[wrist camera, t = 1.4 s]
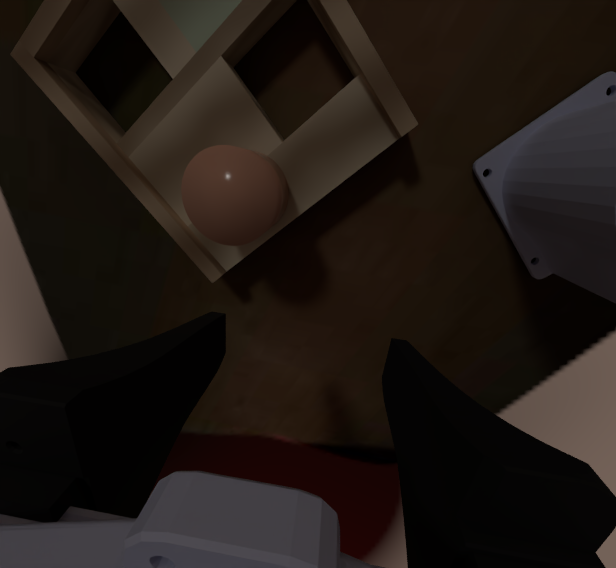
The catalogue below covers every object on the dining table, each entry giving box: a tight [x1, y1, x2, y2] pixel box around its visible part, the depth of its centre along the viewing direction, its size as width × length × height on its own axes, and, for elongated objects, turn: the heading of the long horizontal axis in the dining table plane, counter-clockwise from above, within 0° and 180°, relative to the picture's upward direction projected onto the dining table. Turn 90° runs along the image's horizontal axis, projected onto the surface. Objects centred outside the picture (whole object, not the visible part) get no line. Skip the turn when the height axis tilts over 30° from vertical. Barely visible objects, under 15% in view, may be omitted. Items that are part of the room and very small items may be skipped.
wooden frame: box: [10, 0, 418, 283], centre depth 17 cm, size 17×16×3 cm
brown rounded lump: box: [181, 145, 289, 246], centre depth 17 cm, size 5×5×4 cm
